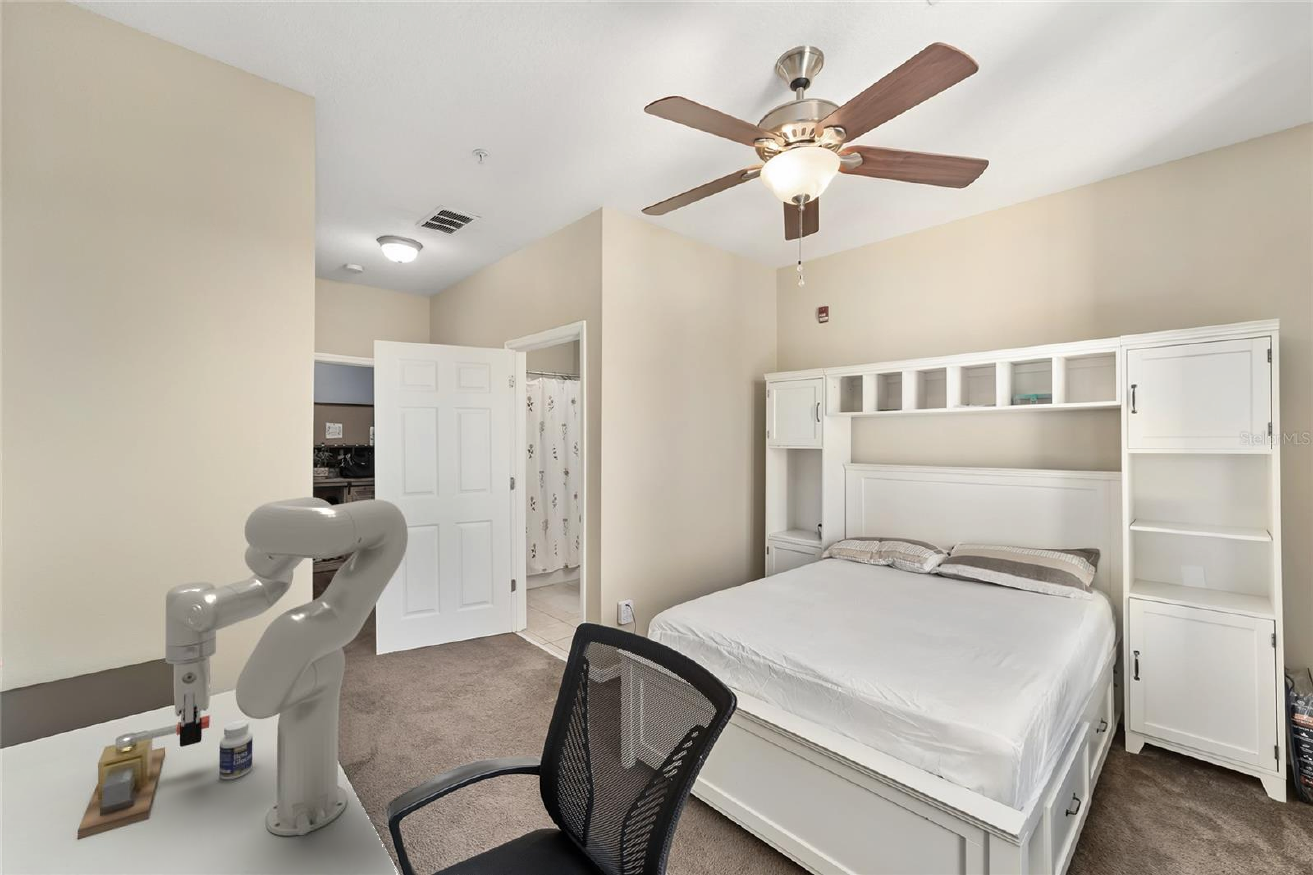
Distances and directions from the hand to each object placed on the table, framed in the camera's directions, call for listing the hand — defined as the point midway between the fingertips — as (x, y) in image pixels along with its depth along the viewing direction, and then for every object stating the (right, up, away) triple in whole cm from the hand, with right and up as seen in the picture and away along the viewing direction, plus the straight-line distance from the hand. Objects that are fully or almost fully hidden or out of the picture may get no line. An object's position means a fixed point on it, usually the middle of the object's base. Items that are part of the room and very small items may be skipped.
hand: (190, 742), depth 109 cm
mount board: (-12, -9, -1) cm, 15 cm away
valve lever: (-7, 0, +2) cm, 7 cm away
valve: (-12, -7, -1) cm, 14 cm away
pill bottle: (+4, -9, +6) cm, 12 cm away
